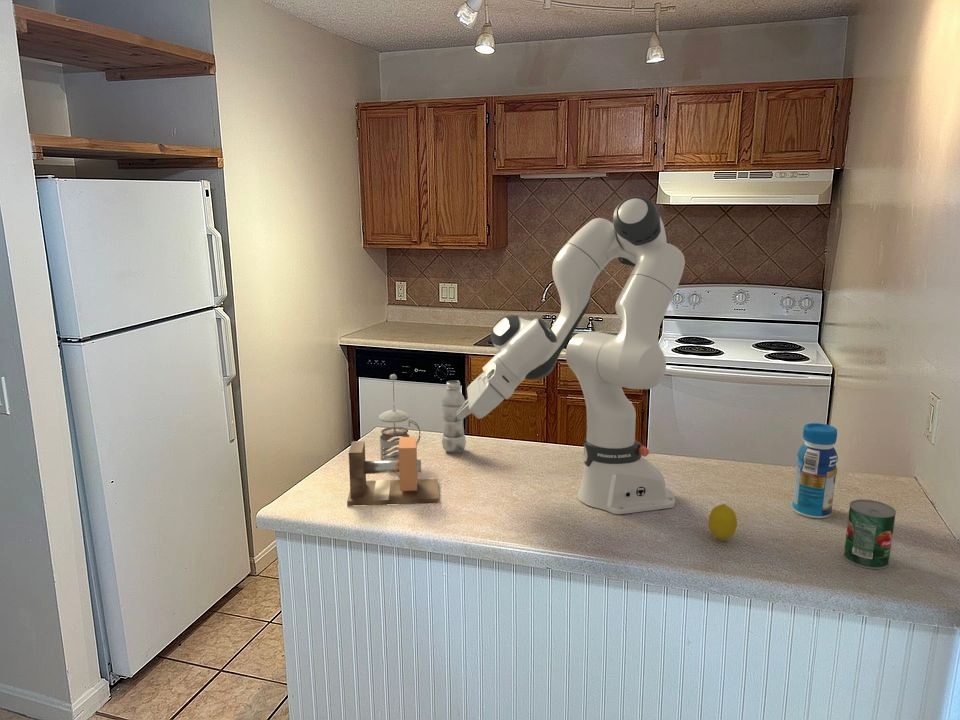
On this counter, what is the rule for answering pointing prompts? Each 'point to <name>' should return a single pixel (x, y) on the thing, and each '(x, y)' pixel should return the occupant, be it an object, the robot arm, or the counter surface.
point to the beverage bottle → (816, 471)
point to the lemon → (722, 522)
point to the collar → (408, 463)
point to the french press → (393, 430)
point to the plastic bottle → (453, 418)
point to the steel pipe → (385, 466)
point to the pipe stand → (383, 485)
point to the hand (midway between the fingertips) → (458, 416)
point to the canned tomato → (869, 534)
